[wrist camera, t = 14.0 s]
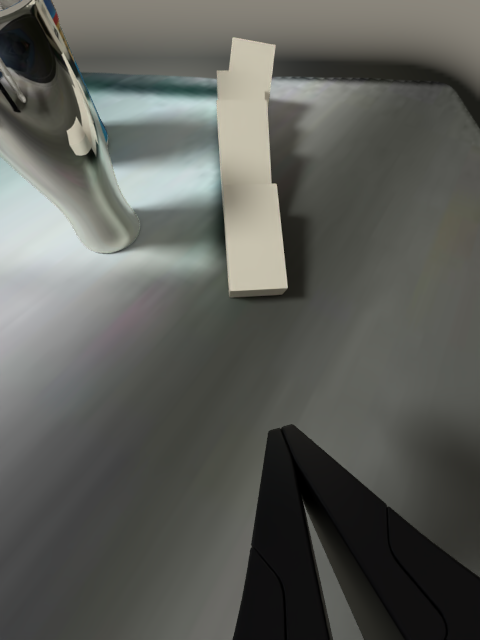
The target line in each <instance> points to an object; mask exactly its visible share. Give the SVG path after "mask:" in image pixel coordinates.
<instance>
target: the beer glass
mask: <svg viewBox="0 0 480 640" xmlns="http://www.w3.org/2000/svg"><path fill="white" fill-rule="evenodd" d="M0 157H1V158H2V159H3V160H4V161H5V162H6V163H7V164H8V165H10V166H11V167H12V168H13V169H14V170H15V171H16V172H17V173H18V174H19V175H21V176H22V177H23V178H24V179H25V180H26V181H27V182H29V183H30V184H31V185H32V186H33V187H34V188H35V189H37V190H38V191H39V192H40V193H41V194H42V195H44V196H45V197H46V198H47V199H48V200H49V201H50V202H51V203H53V204H54V205H55V206H56V207H57V208H58V209H59V210H60V211H61V212H62V213H63V215H64V216H65V217H66V218H67V220H68V221H69V222H70V224H71V226H72V228H73V229H74V231H75V233H76V235H77V237H78V239H79V240H80V242H81V243H82V244H83V245H84V246H85V247H86V248H88V249H89V250H91V251H94V252H98V253H113V252H117V251H120V250H122V249H124V248H126V247H128V246H129V245H130V244H132V243H133V242H134V240H135V239H136V238H137V236H138V234H139V231H140V221H139V219H138V217H137V215H136V213H135V212H134V211H133V209H132V208H131V207H130V205H129V204H128V203H127V201H126V200H125V198H124V196H123V194H122V192H121V190H120V188H119V185H118V183H117V179H116V176H115V173H114V169H113V165H112V162H111V158H110V155H109V151H108V147H107V144H106V140H105V137H104V134H103V131H102V128H101V125H100V122H99V119H98V116H97V113H96V111H95V108H94V106H93V103H92V101H91V98H90V96H89V94H88V91H87V89H86V87H85V84H84V82H83V80H82V78H81V76H80V74H79V72H78V69H77V67H76V65H75V63H74V61H73V59H72V57H71V55H70V53H69V51H68V49H67V47H66V45H65V43H64V41H63V39H62V37H61V35H60V33H59V31H58V29H57V27H56V25H55V23H54V21H53V19H52V17H51V15H50V13H49V11H48V9H47V7H46V5H45V3H44V1H43V0H0Z"/></svg>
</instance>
